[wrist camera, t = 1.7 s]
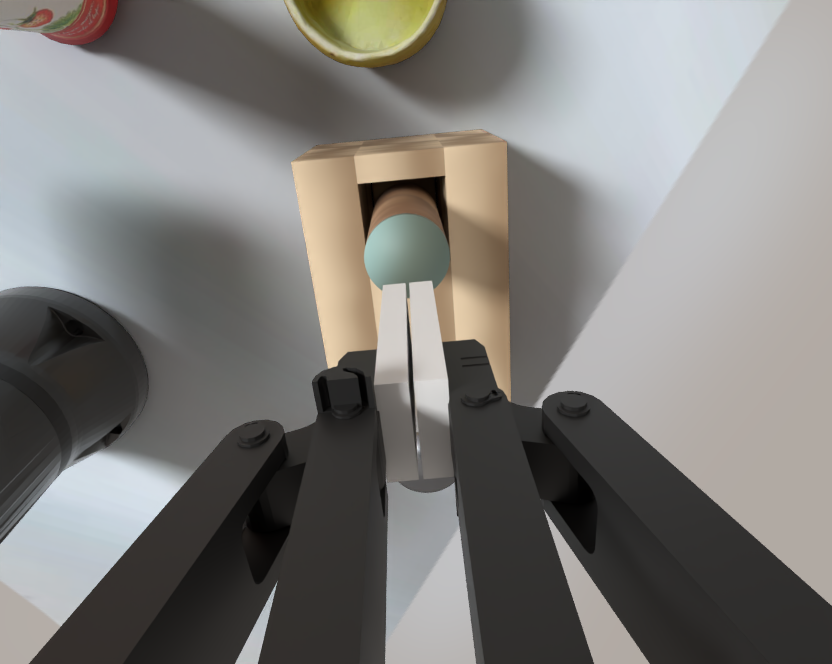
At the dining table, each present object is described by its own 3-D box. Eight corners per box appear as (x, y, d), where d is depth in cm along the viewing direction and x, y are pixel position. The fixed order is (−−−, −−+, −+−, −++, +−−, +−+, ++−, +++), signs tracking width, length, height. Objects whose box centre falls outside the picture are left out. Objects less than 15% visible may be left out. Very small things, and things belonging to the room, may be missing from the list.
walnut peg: (377, 250, 34) (369, 302, 26) (369, 186, 32) (358, 219, 24) (439, 244, 34) (452, 294, 25) (435, 180, 32) (447, 211, 24)
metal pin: (396, 409, 39) (395, 495, 31) (390, 361, 37) (387, 438, 29) (451, 404, 39) (464, 489, 30) (447, 356, 37) (461, 431, 29)
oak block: (354, 383, 47) (343, 453, 38) (316, 145, 39) (291, 162, 29) (489, 370, 47) (511, 438, 38) (481, 129, 38) (506, 141, 29)
